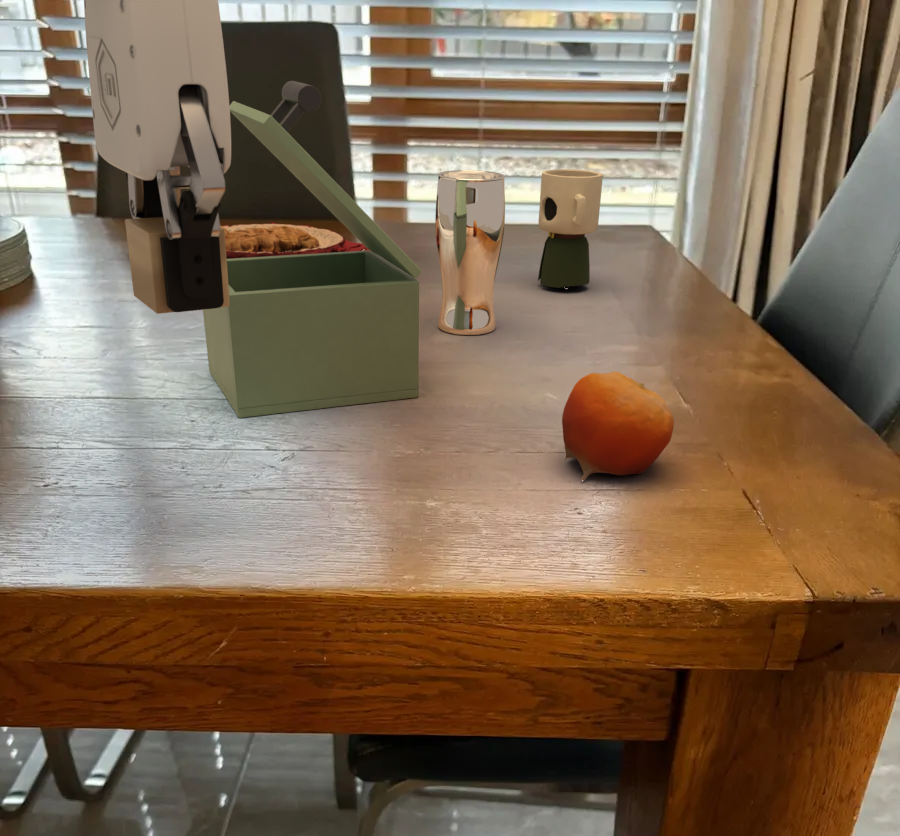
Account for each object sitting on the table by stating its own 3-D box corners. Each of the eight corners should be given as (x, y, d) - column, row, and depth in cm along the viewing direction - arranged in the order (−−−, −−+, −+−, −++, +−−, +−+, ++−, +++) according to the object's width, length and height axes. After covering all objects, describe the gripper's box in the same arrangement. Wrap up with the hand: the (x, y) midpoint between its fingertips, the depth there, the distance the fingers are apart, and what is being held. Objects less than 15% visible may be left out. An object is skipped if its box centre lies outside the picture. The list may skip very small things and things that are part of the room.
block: (156, 314, 56) (148, 233, 53) (133, 296, 59) (124, 218, 57) (230, 306, 58) (224, 228, 56) (204, 289, 61) (197, 214, 59)
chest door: (263, 123, 69) (308, 66, 69) (227, 108, 79) (266, 58, 78) (416, 279, 79) (457, 231, 78) (367, 248, 89) (403, 205, 88)
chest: (238, 418, 79) (227, 295, 74) (209, 371, 89) (197, 260, 84) (418, 397, 84) (419, 281, 79) (372, 355, 94) (370, 250, 89)
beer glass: (462, 340, 99) (467, 181, 92) (420, 325, 104) (421, 172, 96) (513, 329, 103) (521, 176, 95) (470, 315, 108) (475, 167, 100)
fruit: (518, 437, 73) (575, 342, 71) (593, 477, 77) (650, 388, 75) (566, 479, 66) (631, 376, 64) (645, 520, 71) (709, 424, 68)
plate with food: (295, 285, 118) (294, 256, 117) (129, 255, 127) (126, 227, 126) (389, 253, 137) (390, 227, 135) (238, 229, 146) (237, 204, 144)
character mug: (525, 277, 124) (532, 166, 117) (579, 276, 125) (589, 166, 118) (545, 298, 115) (553, 179, 108) (603, 297, 116) (615, 179, 109)
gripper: (29, -73, 53) (79, 272, 62) (119, -87, 41) (165, 344, 50) (164, -62, 57) (193, 263, 66) (284, -72, 45) (298, 328, 54)
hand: (180, 294), depth 58 cm, fingers closed on block, 4 cm apart
